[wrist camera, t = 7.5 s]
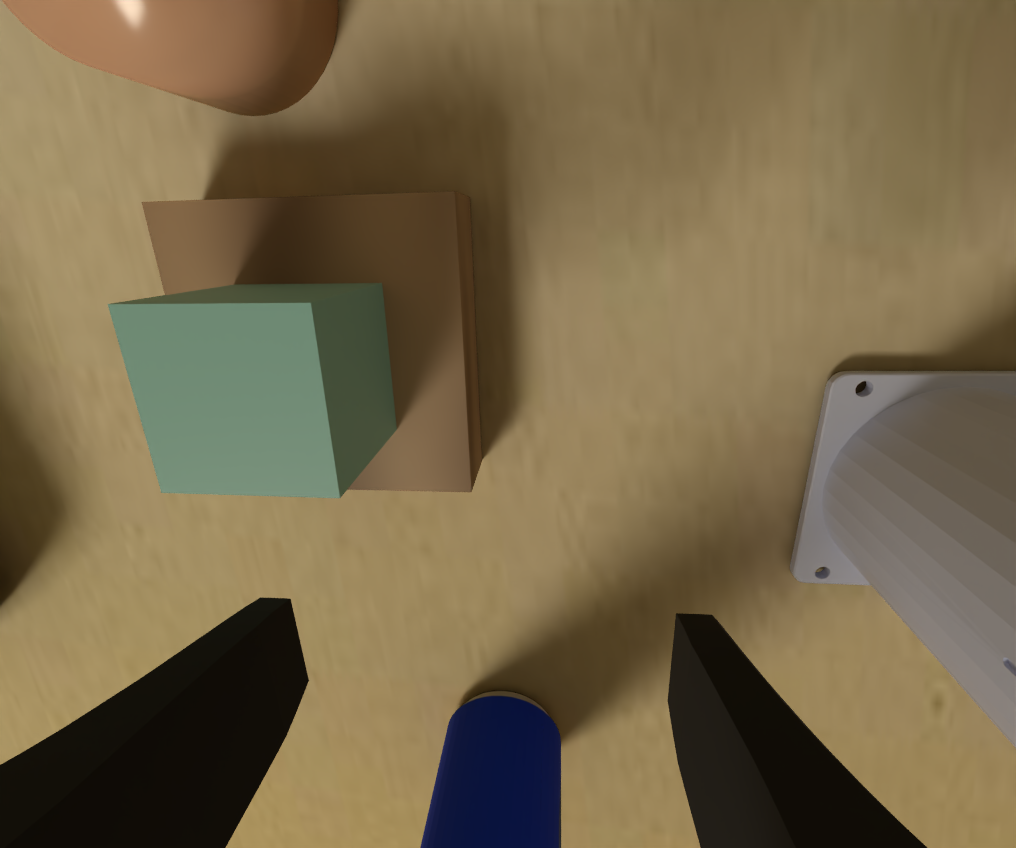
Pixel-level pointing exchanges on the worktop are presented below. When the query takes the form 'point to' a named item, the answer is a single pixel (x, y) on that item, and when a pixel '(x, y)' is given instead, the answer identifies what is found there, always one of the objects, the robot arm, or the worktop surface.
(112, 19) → the rounded knob
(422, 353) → the base
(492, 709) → the beverage can
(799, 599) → the worktop surface
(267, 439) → the cube
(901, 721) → the worktop surface
